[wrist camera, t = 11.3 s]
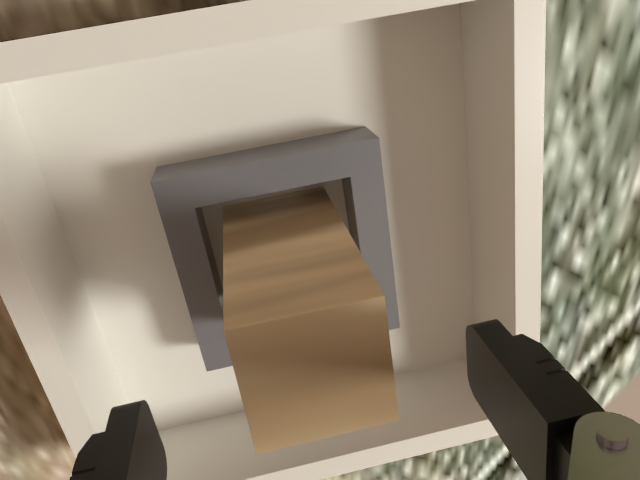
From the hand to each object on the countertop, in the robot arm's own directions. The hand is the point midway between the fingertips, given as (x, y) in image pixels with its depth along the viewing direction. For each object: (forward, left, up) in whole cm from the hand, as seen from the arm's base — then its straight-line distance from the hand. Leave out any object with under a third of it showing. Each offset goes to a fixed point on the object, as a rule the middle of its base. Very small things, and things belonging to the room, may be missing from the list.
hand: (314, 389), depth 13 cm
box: (0, 0, -11) cm, 11 cm away
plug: (0, 0, -10) cm, 10 cm away
